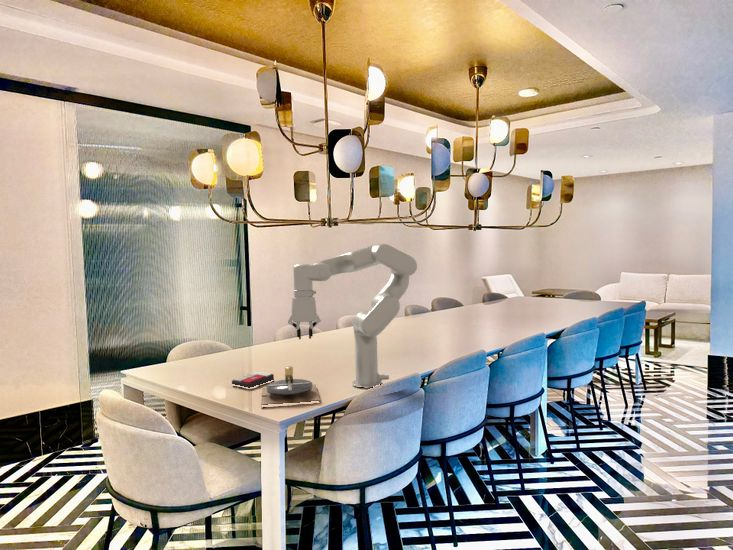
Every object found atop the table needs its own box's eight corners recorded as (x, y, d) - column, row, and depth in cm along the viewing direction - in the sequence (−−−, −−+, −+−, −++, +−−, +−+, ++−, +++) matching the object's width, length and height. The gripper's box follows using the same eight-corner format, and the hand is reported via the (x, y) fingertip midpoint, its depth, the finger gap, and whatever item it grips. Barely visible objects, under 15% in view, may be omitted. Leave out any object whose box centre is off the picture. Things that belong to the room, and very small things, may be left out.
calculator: (231, 378, 220) (256, 369, 233) (231, 388, 221) (257, 378, 233) (248, 382, 214) (273, 372, 227) (249, 392, 215) (274, 381, 227)
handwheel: (314, 397, 195) (313, 375, 194) (266, 401, 192) (265, 378, 191) (311, 385, 213) (310, 364, 212) (267, 388, 210) (266, 367, 209)
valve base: (315, 387, 215) (315, 383, 215) (320, 403, 193) (319, 398, 193) (262, 391, 211) (262, 387, 211) (261, 408, 190) (260, 403, 190)
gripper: (322, 292, 213) (324, 335, 214) (282, 294, 210) (284, 338, 211) (324, 294, 206) (325, 339, 207) (283, 295, 203) (284, 341, 204)
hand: (304, 338), depth 209 cm, fingers open, 3 cm apart
